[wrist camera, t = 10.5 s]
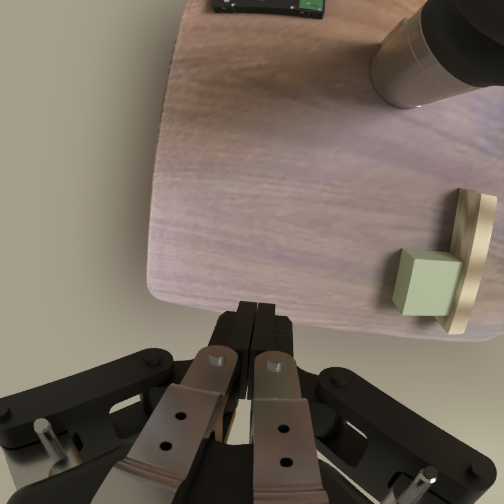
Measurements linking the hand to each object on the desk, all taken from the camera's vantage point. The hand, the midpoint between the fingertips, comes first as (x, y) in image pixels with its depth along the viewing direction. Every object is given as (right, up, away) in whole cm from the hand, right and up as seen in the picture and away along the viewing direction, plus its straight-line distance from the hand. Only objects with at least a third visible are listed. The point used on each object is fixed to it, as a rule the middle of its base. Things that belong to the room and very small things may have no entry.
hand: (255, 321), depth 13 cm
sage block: (+25, -1, +29) cm, 38 cm away
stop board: (+30, +2, +27) cm, 41 cm away
